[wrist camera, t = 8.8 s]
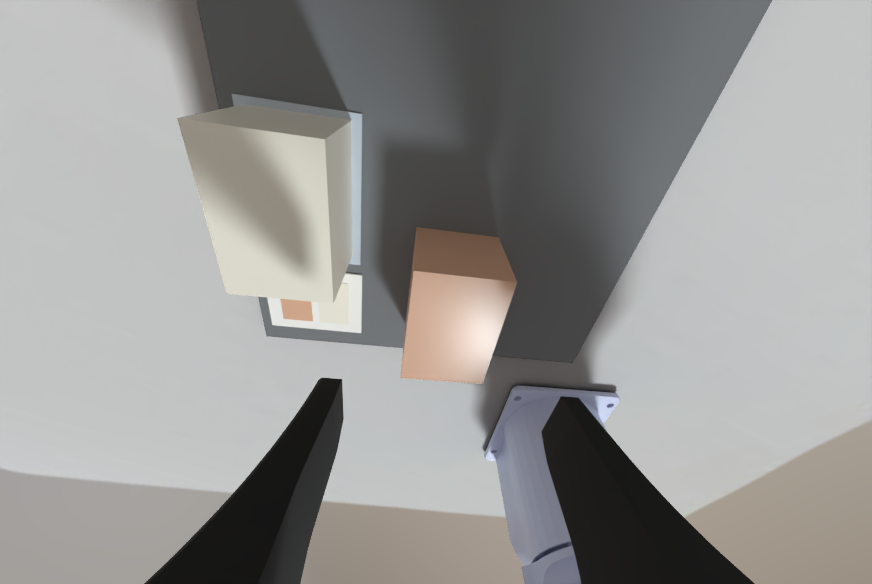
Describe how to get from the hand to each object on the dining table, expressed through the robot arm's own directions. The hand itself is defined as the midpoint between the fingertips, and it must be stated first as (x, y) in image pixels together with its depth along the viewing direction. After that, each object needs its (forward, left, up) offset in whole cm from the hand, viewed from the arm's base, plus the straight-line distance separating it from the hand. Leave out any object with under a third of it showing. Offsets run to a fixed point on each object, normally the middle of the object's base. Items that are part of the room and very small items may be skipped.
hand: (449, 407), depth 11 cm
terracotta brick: (0, 0, -8) cm, 8 cm away
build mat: (+5, 0, -8) cm, 10 cm away
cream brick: (+4, +7, -8) cm, 11 cm away
